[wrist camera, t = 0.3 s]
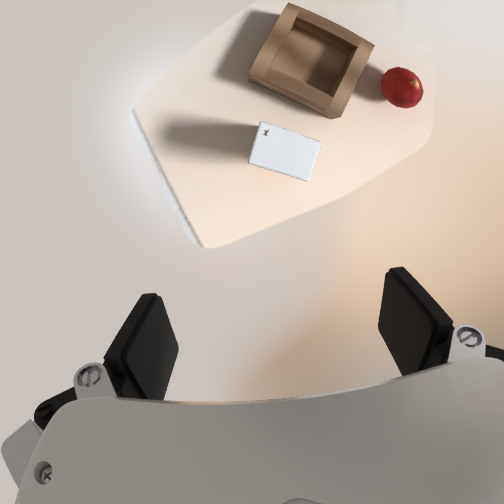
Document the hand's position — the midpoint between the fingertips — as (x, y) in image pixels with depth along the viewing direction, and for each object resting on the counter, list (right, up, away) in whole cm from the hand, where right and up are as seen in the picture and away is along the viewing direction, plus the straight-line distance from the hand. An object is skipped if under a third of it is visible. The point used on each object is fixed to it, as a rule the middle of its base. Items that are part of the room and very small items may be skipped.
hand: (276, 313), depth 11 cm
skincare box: (+2, +16, +24) cm, 29 cm away
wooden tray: (+7, +28, +18) cm, 34 cm away
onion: (+19, +26, +19) cm, 37 cm away
